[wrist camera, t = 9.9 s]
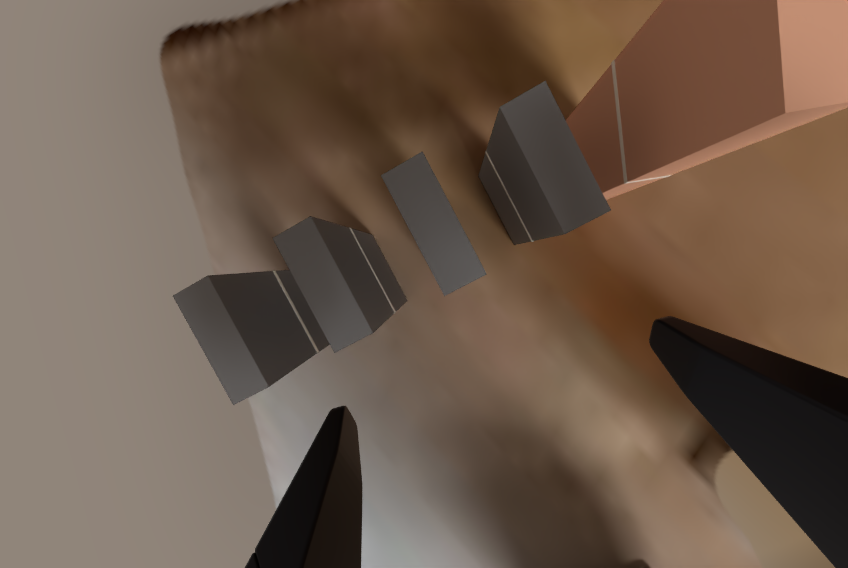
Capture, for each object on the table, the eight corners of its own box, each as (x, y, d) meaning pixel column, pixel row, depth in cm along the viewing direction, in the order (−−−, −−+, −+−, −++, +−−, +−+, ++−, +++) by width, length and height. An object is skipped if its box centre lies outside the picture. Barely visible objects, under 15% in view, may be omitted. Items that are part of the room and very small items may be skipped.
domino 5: (598, 203, 21) (873, 98, 7) (569, 207, 21) (784, 113, 8) (589, 120, 21) (859, -151, 7) (560, 126, 21) (766, -129, 7)
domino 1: (347, 332, 23) (269, 387, 14) (325, 343, 24) (232, 405, 14) (312, 268, 23) (207, 274, 13) (290, 279, 24) (172, 295, 14)
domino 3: (472, 267, 22) (487, 274, 12) (447, 279, 23) (444, 296, 13) (436, 199, 22) (422, 150, 12) (412, 212, 22) (380, 175, 12)
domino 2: (407, 300, 23) (373, 332, 13) (385, 312, 23) (334, 353, 13) (372, 234, 23) (310, 215, 13) (350, 246, 23) (271, 238, 13)
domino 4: (539, 232, 22) (612, 210, 12) (514, 245, 22) (564, 234, 12) (503, 161, 22) (545, 80, 12) (478, 175, 22) (499, 106, 12)
